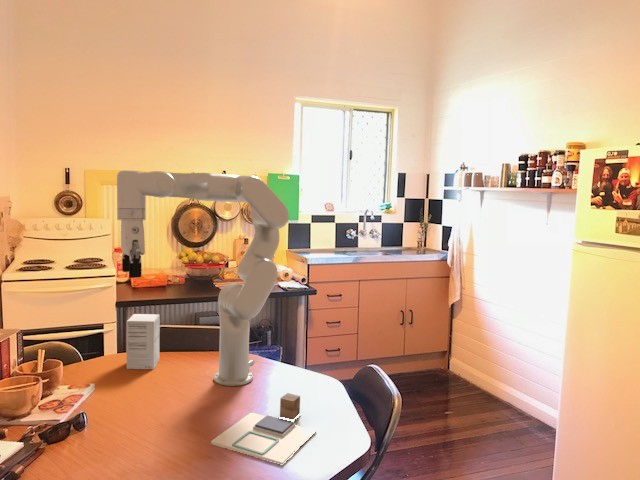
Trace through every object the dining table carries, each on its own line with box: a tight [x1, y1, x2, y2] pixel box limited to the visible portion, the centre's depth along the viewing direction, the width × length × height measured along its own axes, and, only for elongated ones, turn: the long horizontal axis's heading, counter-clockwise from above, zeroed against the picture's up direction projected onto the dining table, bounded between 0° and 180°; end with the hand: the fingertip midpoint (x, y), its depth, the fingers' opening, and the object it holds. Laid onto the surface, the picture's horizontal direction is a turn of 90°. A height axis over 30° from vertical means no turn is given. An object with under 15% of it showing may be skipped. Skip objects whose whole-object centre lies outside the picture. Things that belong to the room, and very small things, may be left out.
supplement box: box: [125, 313, 161, 370], centre depth 173 cm, size 10×9×17 cm
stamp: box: [279, 392, 301, 419], centre depth 139 cm, size 4×4×6 cm
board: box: [210, 411, 309, 464], centre depth 127 cm, size 18×20×2 cm
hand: (131, 274), depth 144 cm, fingers open, 9 cm apart
